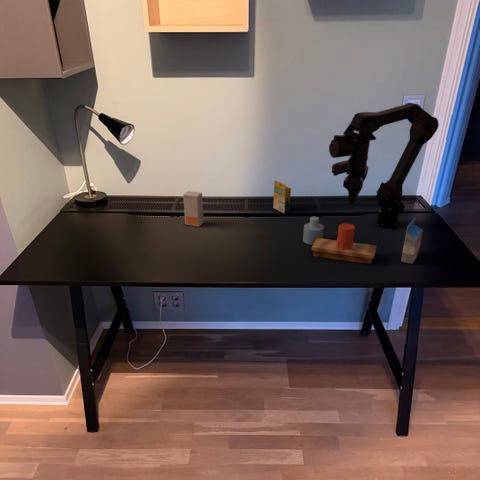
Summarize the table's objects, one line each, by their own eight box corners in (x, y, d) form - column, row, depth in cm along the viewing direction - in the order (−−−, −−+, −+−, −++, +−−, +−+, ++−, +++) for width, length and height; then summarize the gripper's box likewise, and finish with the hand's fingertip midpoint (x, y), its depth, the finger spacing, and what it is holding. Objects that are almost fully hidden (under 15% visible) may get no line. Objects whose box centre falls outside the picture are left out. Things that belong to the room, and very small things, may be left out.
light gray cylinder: (323, 238, 164) (326, 215, 159) (320, 246, 158) (322, 223, 154) (305, 235, 166) (306, 213, 161) (301, 243, 160) (302, 220, 156)
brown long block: (374, 255, 152) (376, 245, 150) (372, 265, 147) (374, 255, 145) (315, 247, 158) (316, 237, 156) (311, 256, 152) (311, 247, 150)
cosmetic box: (185, 224, 175) (182, 194, 168) (190, 220, 178) (187, 190, 171) (199, 227, 173) (197, 196, 166) (204, 223, 176) (202, 192, 169)
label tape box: (412, 264, 147) (420, 228, 140) (399, 261, 149) (407, 226, 142) (419, 253, 153) (427, 219, 146) (407, 251, 155) (414, 216, 148)
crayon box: (289, 212, 185) (291, 183, 178) (284, 213, 183) (285, 184, 177) (278, 206, 190) (279, 178, 183) (273, 208, 188) (274, 180, 182)
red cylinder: (349, 242, 152) (352, 223, 148) (354, 249, 148) (356, 229, 144) (334, 243, 152) (337, 223, 148) (338, 250, 148) (341, 230, 144)
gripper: (339, 145, 162) (334, 189, 171) (330, 160, 148) (325, 206, 156) (371, 148, 159) (364, 192, 168) (365, 162, 145) (358, 210, 153)
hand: (352, 199), depth 162 cm, fingers open, 9 cm apart
